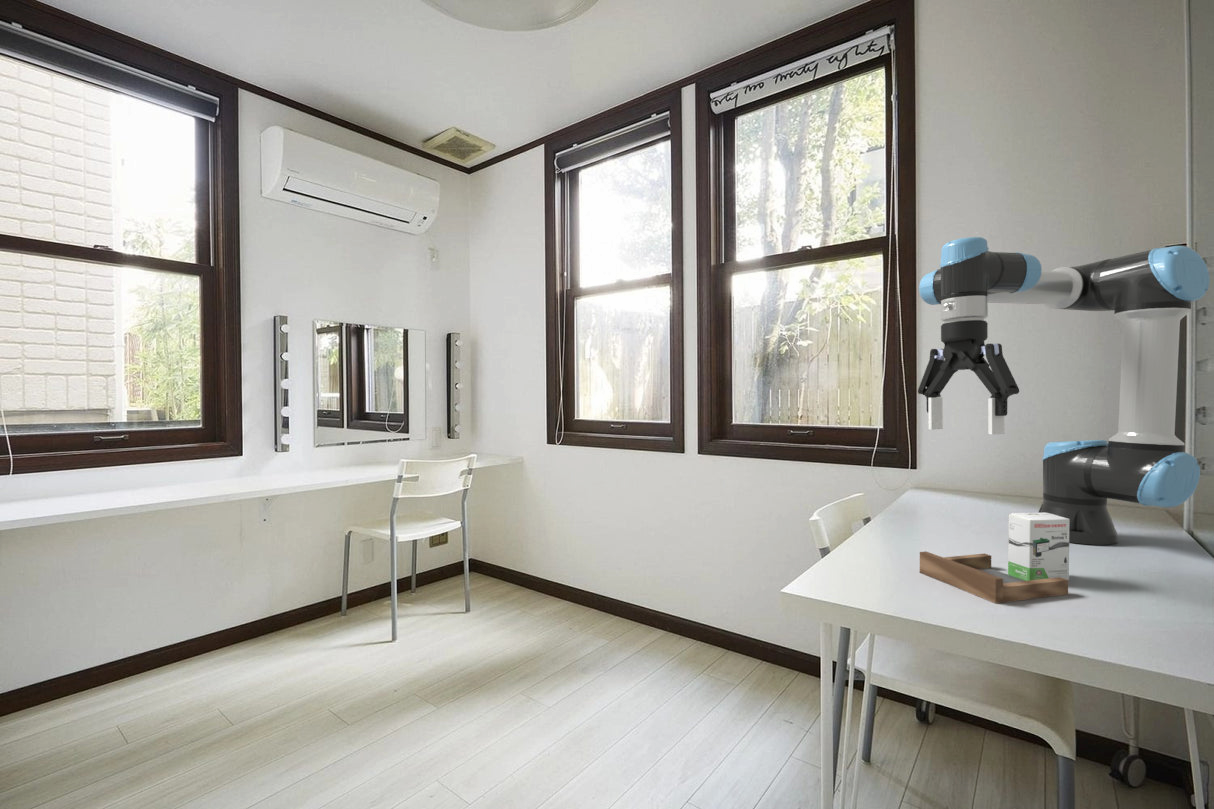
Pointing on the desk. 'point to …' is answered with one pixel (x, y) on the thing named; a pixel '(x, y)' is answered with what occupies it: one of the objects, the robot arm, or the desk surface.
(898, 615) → the desk surface
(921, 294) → the robot arm
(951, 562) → the u rest
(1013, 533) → the ink box
